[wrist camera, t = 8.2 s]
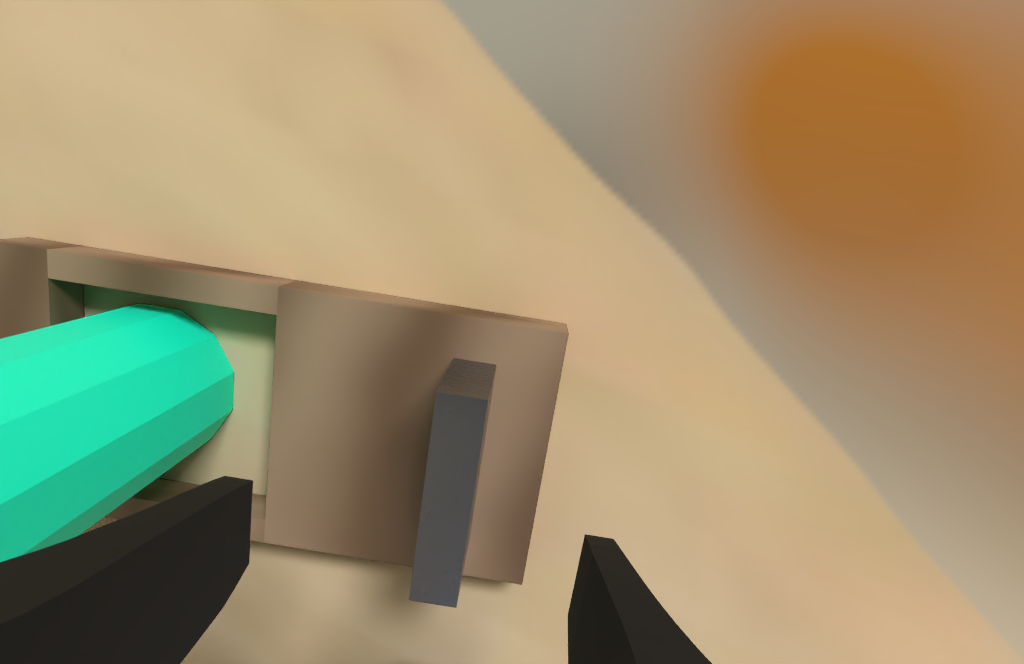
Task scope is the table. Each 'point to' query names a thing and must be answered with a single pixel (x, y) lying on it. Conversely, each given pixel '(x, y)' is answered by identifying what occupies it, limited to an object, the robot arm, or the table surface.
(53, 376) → the candle
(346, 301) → the brown compartment tray
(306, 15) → the table surface
